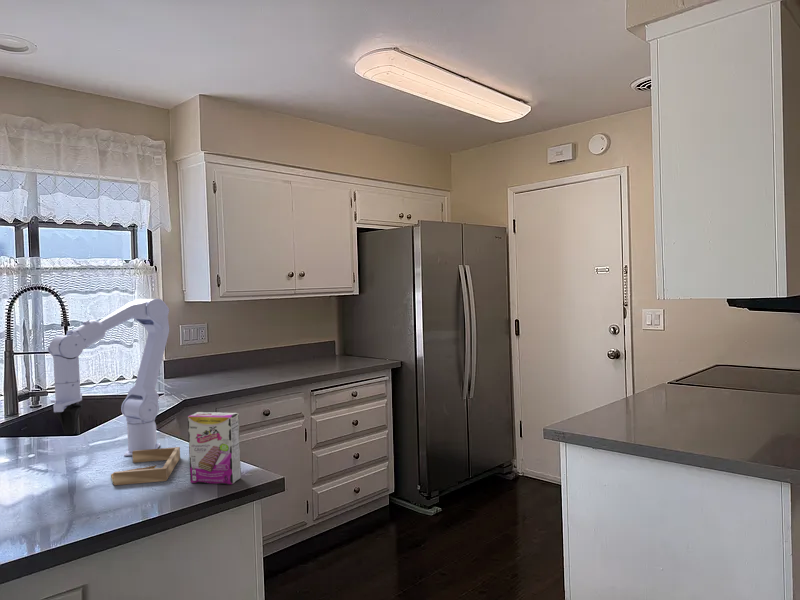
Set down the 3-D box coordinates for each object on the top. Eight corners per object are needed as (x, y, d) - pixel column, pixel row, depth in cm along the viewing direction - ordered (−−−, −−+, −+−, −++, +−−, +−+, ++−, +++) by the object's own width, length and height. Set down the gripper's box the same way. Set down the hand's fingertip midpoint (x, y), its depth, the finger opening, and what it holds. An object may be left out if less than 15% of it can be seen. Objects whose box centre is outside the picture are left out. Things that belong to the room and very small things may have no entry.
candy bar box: (189, 484, 142) (186, 416, 141) (199, 476, 147) (196, 411, 146) (233, 485, 140) (230, 416, 139) (242, 478, 145) (239, 411, 144)
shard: (156, 470, 154) (156, 463, 154) (161, 478, 148) (160, 471, 148) (110, 478, 149) (110, 471, 149) (112, 487, 142) (112, 480, 142)
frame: (133, 461, 161) (133, 450, 161) (180, 457, 163) (179, 446, 163) (113, 485, 142) (113, 473, 142) (166, 480, 145) (166, 468, 145)
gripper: (60, 378, 159) (63, 428, 160) (38, 387, 145) (41, 442, 146) (89, 376, 161) (91, 426, 161) (70, 385, 147) (73, 440, 147)
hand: (70, 433), depth 154 cm, fingers closed
